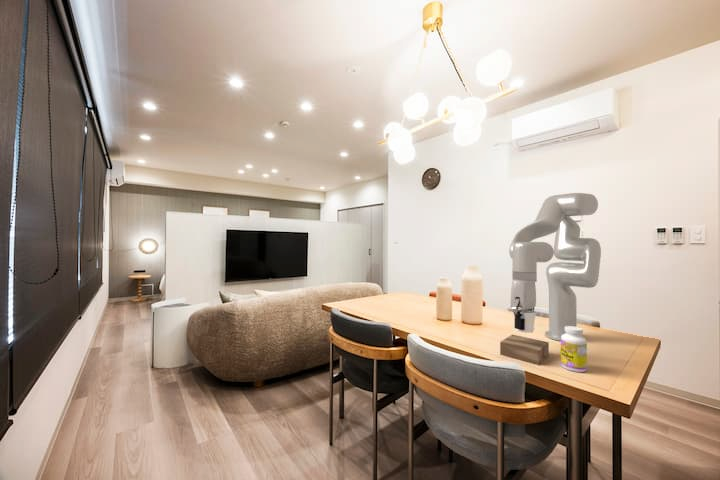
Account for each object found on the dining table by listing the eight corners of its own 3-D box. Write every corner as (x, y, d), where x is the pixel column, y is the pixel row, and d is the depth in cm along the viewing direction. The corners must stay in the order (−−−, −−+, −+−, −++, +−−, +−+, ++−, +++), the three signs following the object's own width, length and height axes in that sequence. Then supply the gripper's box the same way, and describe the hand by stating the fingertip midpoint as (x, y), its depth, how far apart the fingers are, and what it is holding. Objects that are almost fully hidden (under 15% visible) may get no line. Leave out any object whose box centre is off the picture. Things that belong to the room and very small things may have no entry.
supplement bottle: (555, 364, 95) (555, 325, 95) (574, 363, 96) (574, 324, 96) (572, 373, 89) (572, 331, 89) (592, 372, 89) (592, 330, 89)
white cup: (529, 328, 106) (529, 308, 106) (539, 333, 99) (539, 313, 99) (509, 327, 107) (510, 308, 107) (518, 332, 100) (518, 312, 100)
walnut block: (512, 347, 112) (512, 334, 112) (548, 356, 103) (548, 342, 103) (500, 355, 103) (500, 341, 103) (538, 366, 95) (538, 351, 95)
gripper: (524, 274, 112) (524, 321, 111) (501, 277, 101) (501, 329, 101) (546, 276, 106) (545, 326, 105) (524, 279, 95) (524, 334, 95)
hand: (524, 327), depth 103 cm, fingers closed on white cup, 6 cm apart
